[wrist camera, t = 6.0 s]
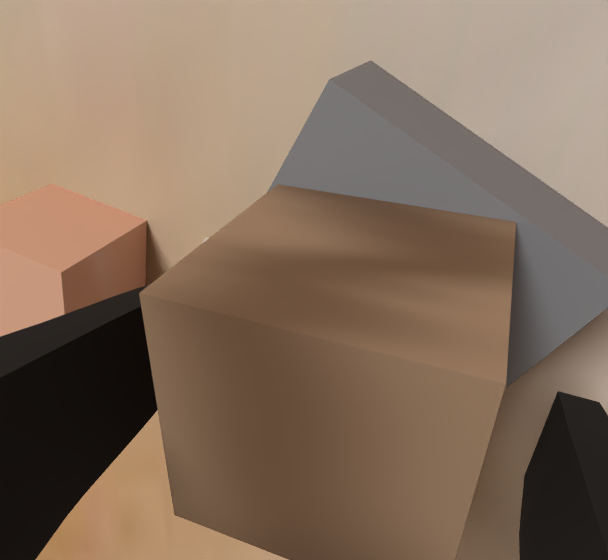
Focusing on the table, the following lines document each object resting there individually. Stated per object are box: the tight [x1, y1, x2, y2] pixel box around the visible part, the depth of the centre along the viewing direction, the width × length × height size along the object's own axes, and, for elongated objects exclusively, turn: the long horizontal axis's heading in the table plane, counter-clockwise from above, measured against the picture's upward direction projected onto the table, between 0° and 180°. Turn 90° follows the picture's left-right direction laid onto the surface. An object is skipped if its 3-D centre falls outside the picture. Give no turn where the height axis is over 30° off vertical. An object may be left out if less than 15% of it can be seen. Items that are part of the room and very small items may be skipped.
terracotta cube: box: [0, 184, 147, 336], centre depth 18 cm, size 4×4×4 cm
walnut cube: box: [139, 184, 516, 560], centre depth 10 cm, size 5×5×5 cm
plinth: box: [267, 61, 608, 388], centre depth 13 cm, size 7×7×4 cm
